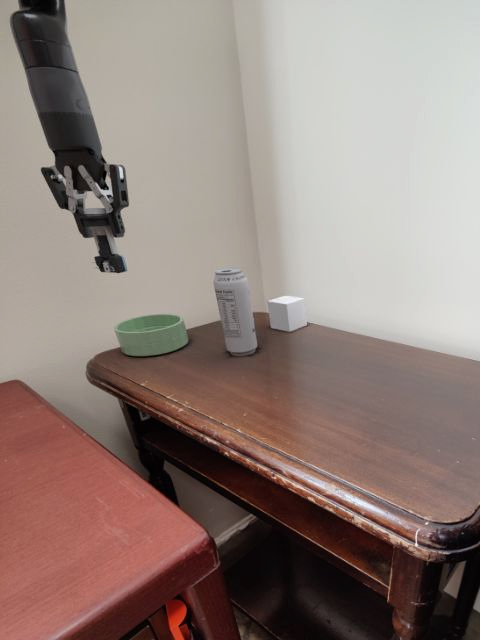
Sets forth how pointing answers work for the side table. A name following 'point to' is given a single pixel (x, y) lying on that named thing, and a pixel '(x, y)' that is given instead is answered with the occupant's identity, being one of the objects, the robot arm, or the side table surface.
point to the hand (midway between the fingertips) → (103, 236)
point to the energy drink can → (235, 311)
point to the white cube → (287, 313)
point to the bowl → (151, 334)
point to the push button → (104, 241)
